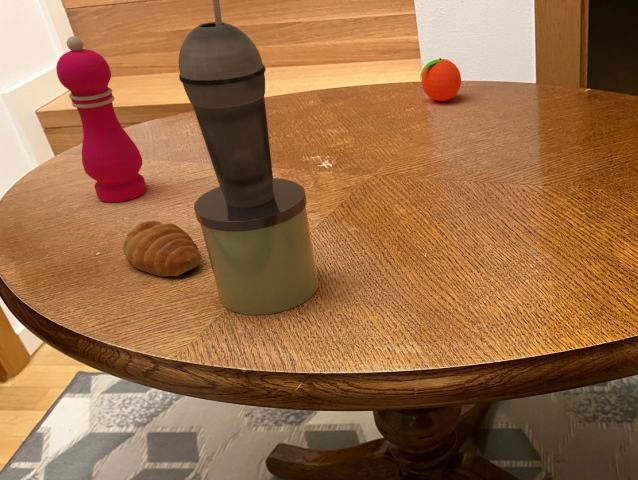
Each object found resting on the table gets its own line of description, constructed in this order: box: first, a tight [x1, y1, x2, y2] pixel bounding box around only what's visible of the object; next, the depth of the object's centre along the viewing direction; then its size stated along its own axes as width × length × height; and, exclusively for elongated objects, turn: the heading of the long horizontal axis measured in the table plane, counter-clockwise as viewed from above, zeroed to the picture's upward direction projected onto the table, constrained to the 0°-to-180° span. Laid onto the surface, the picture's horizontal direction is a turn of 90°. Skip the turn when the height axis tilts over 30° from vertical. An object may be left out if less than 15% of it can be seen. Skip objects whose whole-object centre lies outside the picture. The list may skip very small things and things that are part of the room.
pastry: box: [122, 220, 202, 277], centre depth 80 cm, size 9×7×4 cm
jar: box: [193, 177, 319, 316], centre depth 72 cm, size 10×10×10 cm
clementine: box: [419, 57, 462, 102], centre depth 126 cm, size 8×7×7 cm
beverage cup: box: [178, 0, 274, 208], centre depth 64 cm, size 7×7×20 cm
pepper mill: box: [55, 35, 148, 203], centre depth 93 cm, size 7×7×20 cm
